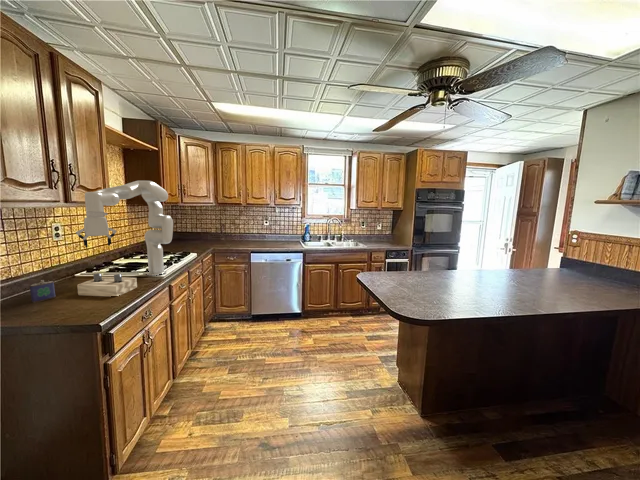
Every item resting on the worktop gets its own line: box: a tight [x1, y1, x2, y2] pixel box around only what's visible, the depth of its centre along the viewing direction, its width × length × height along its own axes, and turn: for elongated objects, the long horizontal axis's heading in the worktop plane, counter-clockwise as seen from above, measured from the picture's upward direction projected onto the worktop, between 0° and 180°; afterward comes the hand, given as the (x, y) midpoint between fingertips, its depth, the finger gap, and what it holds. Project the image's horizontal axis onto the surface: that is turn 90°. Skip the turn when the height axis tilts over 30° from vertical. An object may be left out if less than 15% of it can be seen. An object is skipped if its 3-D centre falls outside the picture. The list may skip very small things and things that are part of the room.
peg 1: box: [92, 272, 103, 282], centre depth 158 cm, size 4×4×6 cm
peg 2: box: [113, 273, 123, 283], centre depth 157 cm, size 4×4×6 cm
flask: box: [29, 279, 56, 303], centre depth 143 cm, size 9×3×11 cm, turn 152°
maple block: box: [77, 276, 138, 297], centre depth 158 cm, size 16×22×6 cm
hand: (98, 246), depth 150 cm, fingers open, 9 cm apart
